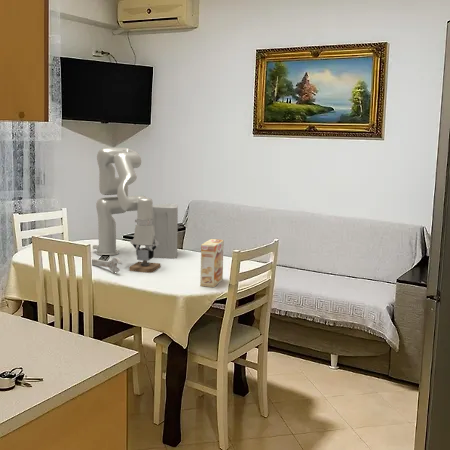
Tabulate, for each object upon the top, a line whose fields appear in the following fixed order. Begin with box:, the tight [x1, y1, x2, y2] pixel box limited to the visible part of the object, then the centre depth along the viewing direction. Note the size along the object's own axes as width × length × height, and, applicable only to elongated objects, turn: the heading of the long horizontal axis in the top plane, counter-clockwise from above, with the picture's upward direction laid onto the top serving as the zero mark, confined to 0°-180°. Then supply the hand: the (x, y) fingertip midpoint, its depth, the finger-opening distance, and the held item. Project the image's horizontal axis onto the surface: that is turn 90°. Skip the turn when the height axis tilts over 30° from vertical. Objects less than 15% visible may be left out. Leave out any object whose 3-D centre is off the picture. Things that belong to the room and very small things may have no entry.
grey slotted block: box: [136, 247, 153, 262], centre depth 298 cm, size 6×6×5 cm
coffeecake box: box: [199, 238, 225, 288], centre depth 275 cm, size 15×7×20 cm, turn 164°
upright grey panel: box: [144, 202, 179, 260], centre depth 326 cm, size 19×15×28 cm
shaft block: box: [128, 247, 161, 274], centre depth 298 cm, size 12×12×10 cm
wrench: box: [91, 257, 122, 274], centre depth 296 cm, size 8×2×30 cm
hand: (144, 257), depth 298 cm, fingers closed on grey slotted block, 6 cm apart
